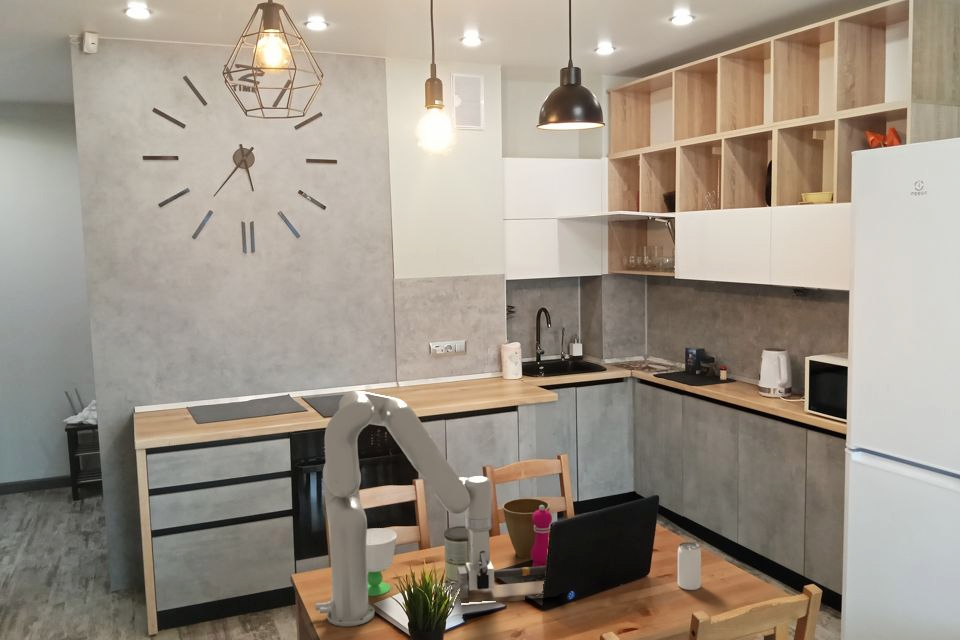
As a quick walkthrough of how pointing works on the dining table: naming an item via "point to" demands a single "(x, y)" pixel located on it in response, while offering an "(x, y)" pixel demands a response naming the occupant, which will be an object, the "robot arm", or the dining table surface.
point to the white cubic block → (473, 574)
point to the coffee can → (455, 551)
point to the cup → (379, 558)
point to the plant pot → (522, 523)
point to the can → (689, 566)
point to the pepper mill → (540, 536)
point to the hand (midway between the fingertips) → (480, 581)
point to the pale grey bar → (501, 586)
